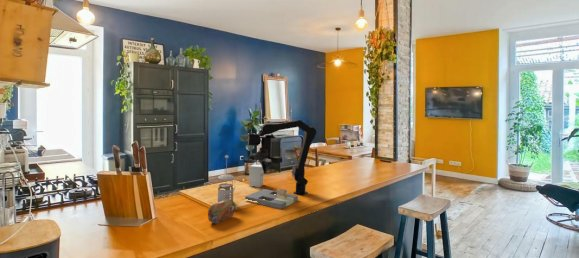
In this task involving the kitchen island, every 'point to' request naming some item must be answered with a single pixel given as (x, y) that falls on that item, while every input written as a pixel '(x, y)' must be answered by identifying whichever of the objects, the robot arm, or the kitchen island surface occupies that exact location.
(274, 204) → the board
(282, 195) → the maple block
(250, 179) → the supplement box
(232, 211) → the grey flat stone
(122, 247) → the kitchen island surface
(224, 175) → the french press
